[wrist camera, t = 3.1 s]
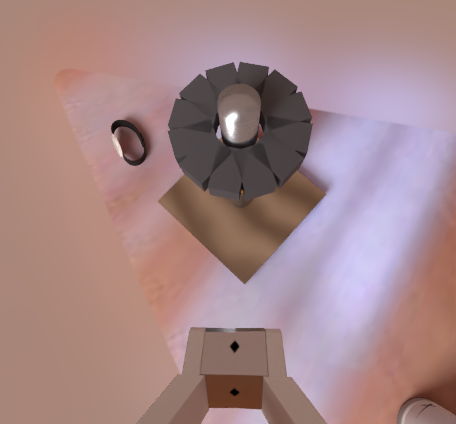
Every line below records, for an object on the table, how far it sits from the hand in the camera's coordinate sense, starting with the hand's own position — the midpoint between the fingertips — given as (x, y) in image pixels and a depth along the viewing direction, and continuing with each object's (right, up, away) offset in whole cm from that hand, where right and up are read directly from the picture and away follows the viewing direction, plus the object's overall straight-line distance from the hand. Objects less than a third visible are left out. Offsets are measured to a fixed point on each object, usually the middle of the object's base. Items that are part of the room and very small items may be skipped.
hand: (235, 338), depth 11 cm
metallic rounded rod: (+2, +6, +34) cm, 35 cm away
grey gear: (+1, +11, +16) cm, 19 cm away
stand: (+2, +6, +36) cm, 37 cm away
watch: (-16, +15, +40) cm, 45 cm away
